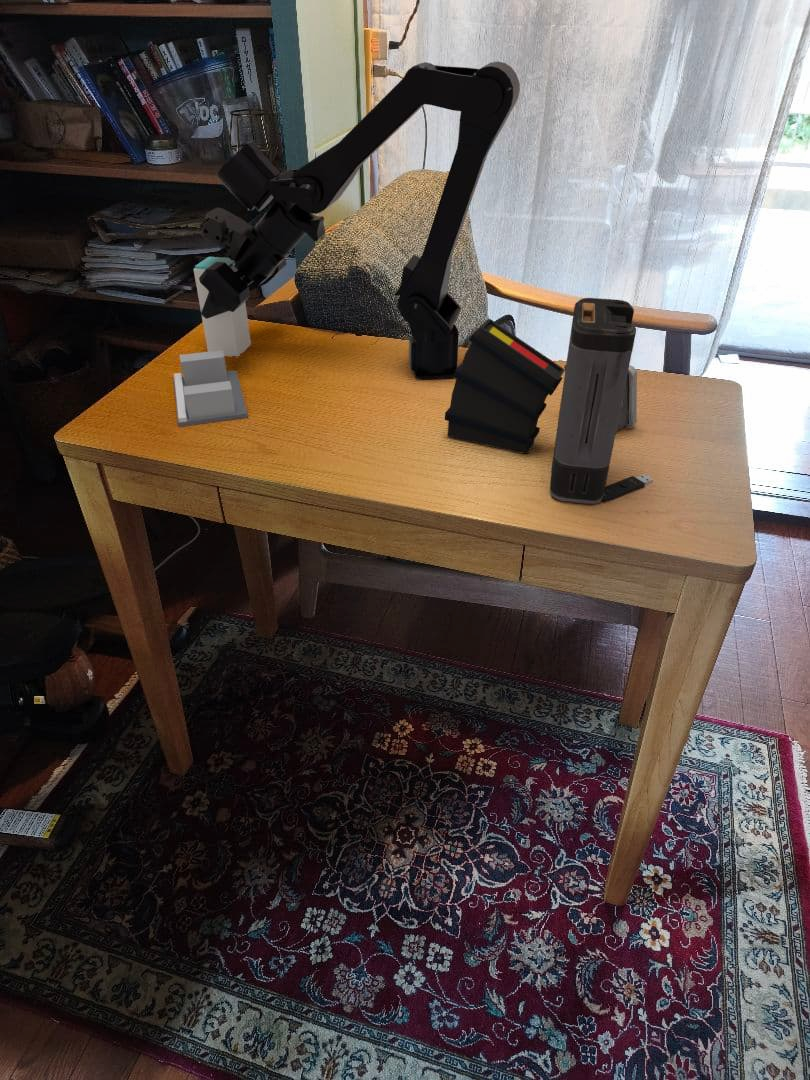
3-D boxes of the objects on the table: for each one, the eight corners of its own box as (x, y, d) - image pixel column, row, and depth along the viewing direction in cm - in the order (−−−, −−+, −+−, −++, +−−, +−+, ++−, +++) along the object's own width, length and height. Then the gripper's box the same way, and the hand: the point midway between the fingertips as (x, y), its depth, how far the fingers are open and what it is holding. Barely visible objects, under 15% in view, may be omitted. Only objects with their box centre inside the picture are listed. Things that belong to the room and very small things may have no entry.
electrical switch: (637, 428, 95) (646, 363, 89) (610, 443, 93) (618, 378, 87) (581, 402, 101) (587, 339, 95) (555, 416, 99) (559, 353, 93)
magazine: (433, 409, 96) (487, 315, 85) (516, 466, 95) (581, 378, 85) (422, 421, 93) (476, 326, 83) (507, 480, 93) (573, 392, 82)
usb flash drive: (641, 477, 86) (643, 470, 86) (654, 485, 85) (655, 478, 84) (591, 497, 83) (593, 489, 83) (603, 505, 82) (605, 497, 81)
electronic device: (603, 507, 81) (638, 333, 69) (548, 501, 82) (573, 328, 70) (602, 464, 88) (633, 299, 76) (552, 458, 89) (575, 295, 77)
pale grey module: (251, 344, 117) (239, 258, 109) (238, 357, 113) (225, 268, 105) (222, 341, 118) (208, 256, 109) (208, 354, 114) (193, 266, 106)
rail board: (236, 374, 108) (232, 347, 106) (248, 417, 97) (243, 389, 95) (174, 381, 106) (168, 354, 104) (178, 426, 95) (172, 398, 93)
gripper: (258, 175, 107) (201, 248, 116) (200, 206, 93) (141, 286, 102) (313, 235, 111) (254, 301, 120) (265, 274, 96) (203, 345, 105)
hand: (215, 307), depth 111 cm, fingers open, 7 cm apart
